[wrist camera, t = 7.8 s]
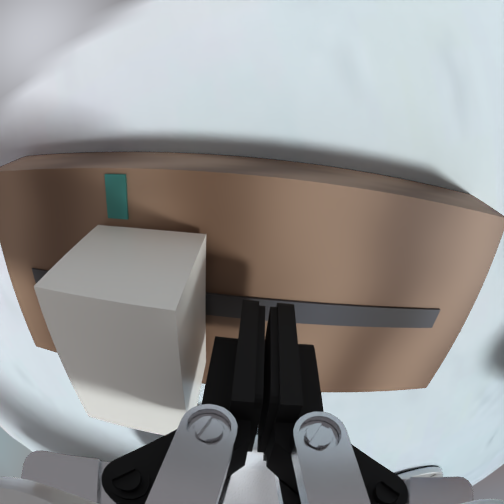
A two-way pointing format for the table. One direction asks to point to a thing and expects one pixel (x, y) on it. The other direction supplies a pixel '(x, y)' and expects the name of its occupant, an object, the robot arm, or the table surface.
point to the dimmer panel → (274, 249)
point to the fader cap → (131, 323)
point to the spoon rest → (252, 482)
